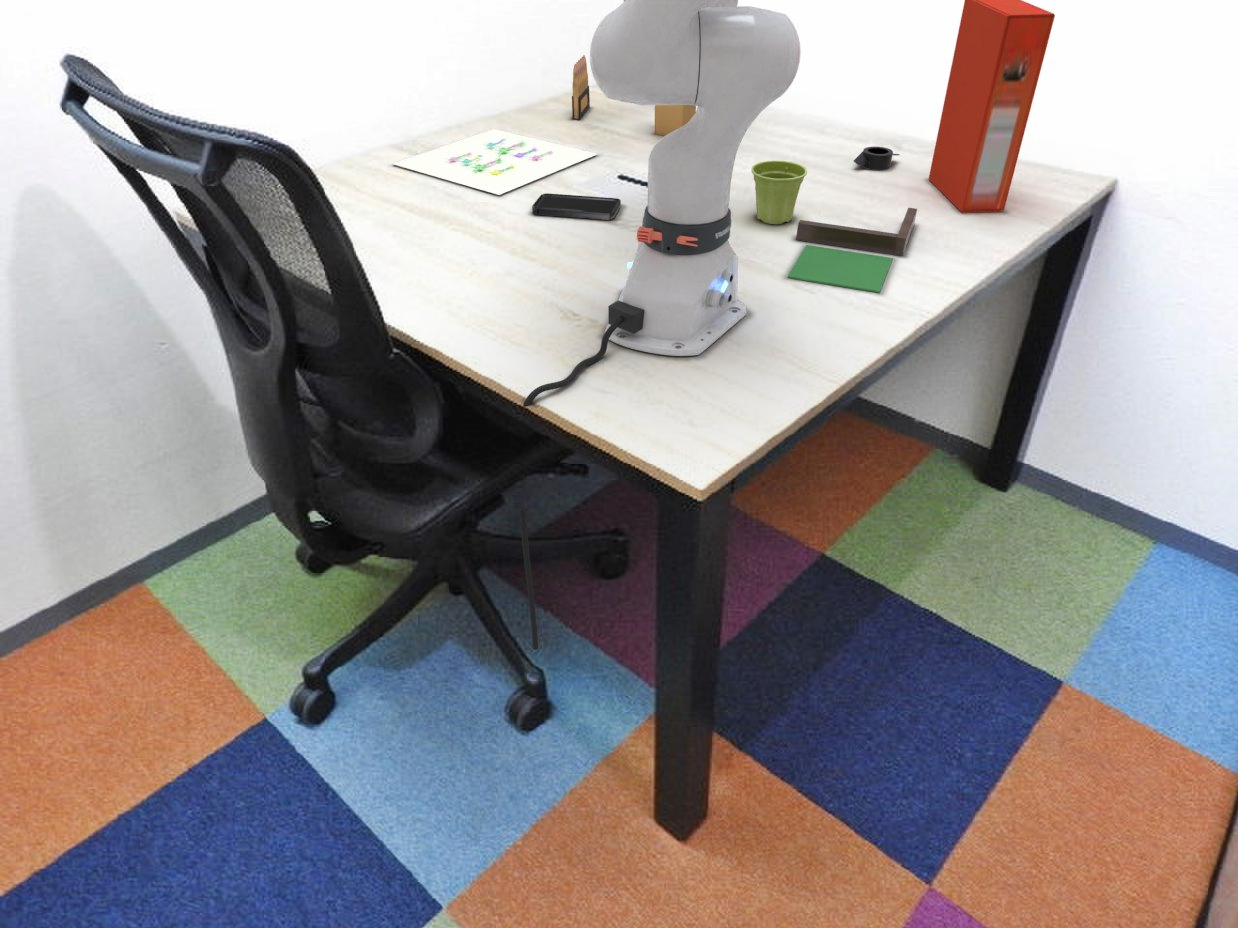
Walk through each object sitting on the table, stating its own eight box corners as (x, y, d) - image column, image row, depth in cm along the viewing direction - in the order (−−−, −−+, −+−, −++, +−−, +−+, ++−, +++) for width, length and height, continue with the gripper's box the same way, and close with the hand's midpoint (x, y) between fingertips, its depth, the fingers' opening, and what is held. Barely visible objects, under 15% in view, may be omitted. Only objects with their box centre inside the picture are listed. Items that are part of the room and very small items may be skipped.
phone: (542, 193, 160) (621, 198, 158) (542, 199, 161) (621, 204, 158) (530, 208, 154) (612, 214, 152) (530, 214, 155) (612, 220, 152)
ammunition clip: (580, 120, 202) (578, 65, 195) (572, 119, 202) (570, 64, 195) (589, 107, 210) (588, 54, 203) (582, 107, 211) (581, 54, 203)
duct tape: (848, 158, 179) (850, 144, 177) (897, 160, 178) (900, 145, 177) (852, 171, 173) (855, 156, 171) (904, 172, 172) (906, 157, 171)
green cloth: (879, 293, 130) (879, 291, 129) (787, 278, 134) (787, 276, 134) (892, 259, 139) (892, 258, 139) (806, 246, 143) (806, 244, 143)
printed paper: (499, 196, 162) (498, 189, 161) (391, 165, 177) (390, 158, 176) (598, 155, 181) (598, 148, 180) (494, 130, 196) (493, 123, 195)
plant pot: (800, 230, 149) (806, 180, 144) (745, 226, 150) (749, 176, 145) (801, 210, 156) (808, 162, 151) (749, 207, 158) (753, 159, 152)
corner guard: (902, 256, 140) (906, 238, 138) (795, 240, 146) (798, 223, 144) (913, 225, 151) (917, 208, 149) (813, 211, 156) (816, 195, 154)
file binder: (959, 213, 155) (1007, 14, 136) (926, 180, 169) (965, -5, 150) (1003, 212, 155) (1057, 14, 136) (967, 179, 169) (1011, -5, 150)
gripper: (698, -29, 126) (693, 72, 135) (749, -49, 141) (742, 44, 149) (659, -32, 129) (657, 67, 137) (713, -51, 143) (708, 40, 151)
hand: (701, 55), depth 143 cm, fingers open, 8 cm apart
